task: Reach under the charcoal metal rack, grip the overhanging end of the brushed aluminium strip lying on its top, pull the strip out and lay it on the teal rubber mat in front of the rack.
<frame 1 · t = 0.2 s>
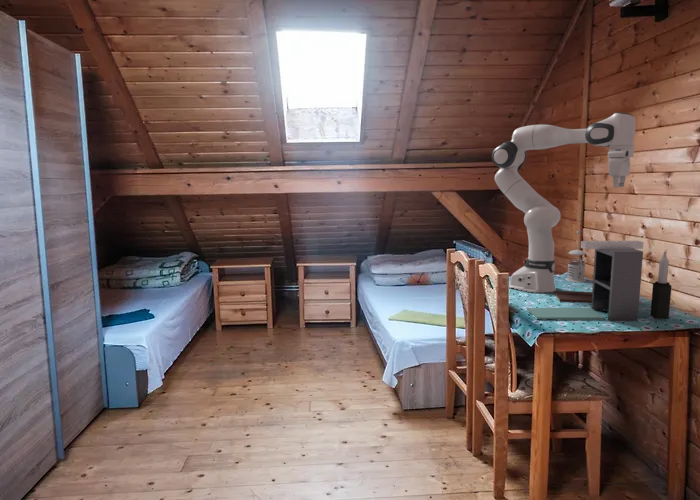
hand: (618, 187, 207), 48 cm above the table, tool pointing down, fingers open, 8 cm apart
notebook: (581, 300, 217), on the table
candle: (659, 317, 188), on the table
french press: (576, 280, 251), on the table
rack: (613, 315, 192), on the table
aluminium strip: (611, 248, 188), point 26 cm above the table, touching rack
mat: (564, 315, 193), on the table
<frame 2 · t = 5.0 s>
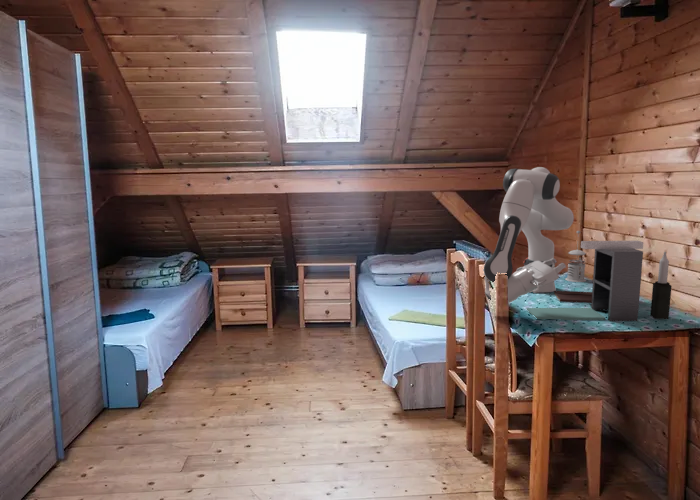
hand: (559, 262, 189), 21 cm above the table, tool pointing upward, fingers open, 8 cm apart
nothing on the table moved.
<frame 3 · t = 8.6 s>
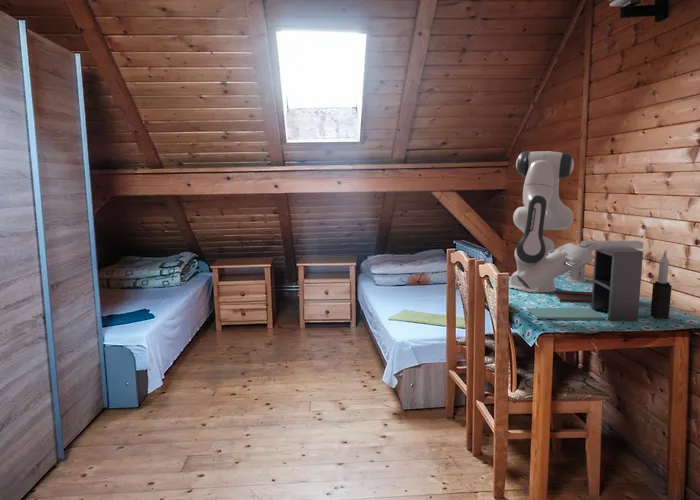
hand: (593, 243, 188), 28 cm above the table, tool pointing upward, fingers closed on aluminium strip, 4 cm apart
aluminium strip: (611, 248, 188), point 26 cm above the table, touching gripper, rack
everything else where it was.
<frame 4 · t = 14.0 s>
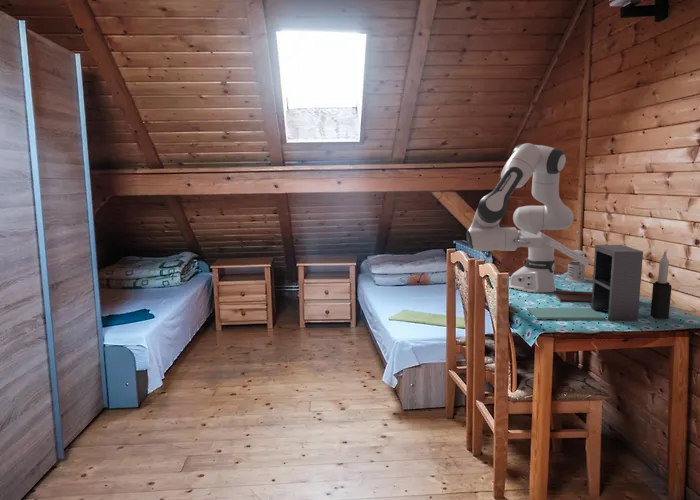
hand: (547, 238, 188), 30 cm above the table, tool horizontal, fingers closed on aluminium strip, 4 cm apart
aluminium strip: (560, 251, 189), point 25 cm above the table, tilted 30°, touching gripper
everything else where it was.
when the fingers open (13 cm above the table, at t = 17.4 s): aluminium strip drops 7 cm, resting on mat.
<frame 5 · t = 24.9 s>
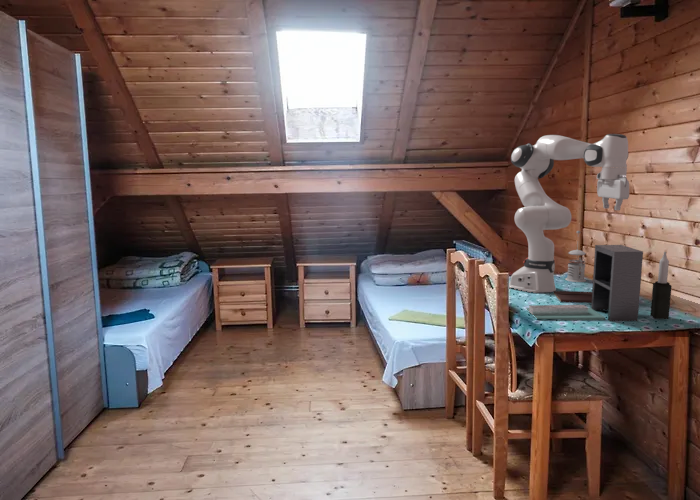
hand: (611, 209, 203), 39 cm above the table, tool pointing down, fingers open, 8 cm apart
aluminium strip: (558, 312, 192), point 1 cm above the table, touching mat
everything else where it was.
at the end: aluminium strip inside the target area on the mat (2.6 cm from its centre), point 1.0 cm above the mat's base; aluminium strip tilted 0°; the gripper is holding nothing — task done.
